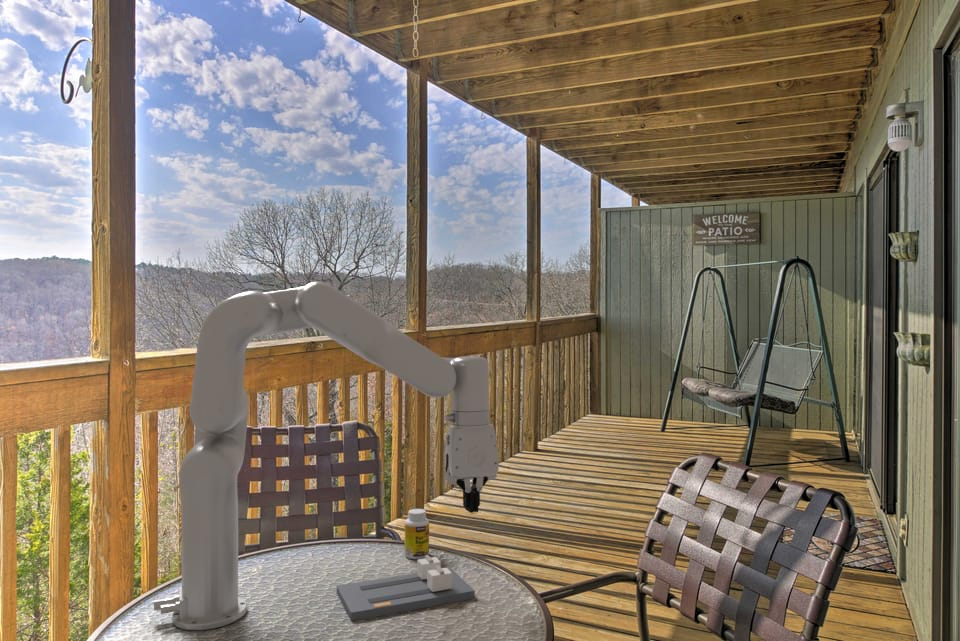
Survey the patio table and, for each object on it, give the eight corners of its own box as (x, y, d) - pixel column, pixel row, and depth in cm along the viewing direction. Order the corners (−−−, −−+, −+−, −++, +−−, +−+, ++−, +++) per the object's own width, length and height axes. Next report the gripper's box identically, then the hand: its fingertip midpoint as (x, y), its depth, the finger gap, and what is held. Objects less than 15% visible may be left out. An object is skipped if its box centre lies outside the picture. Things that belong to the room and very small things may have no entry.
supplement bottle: (414, 562, 146) (414, 516, 146) (399, 555, 150) (399, 510, 150) (434, 555, 150) (434, 511, 150) (418, 549, 154) (418, 506, 154)
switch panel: (351, 621, 117) (351, 612, 117) (336, 593, 129) (336, 585, 129) (474, 598, 127) (474, 590, 127) (450, 574, 139) (450, 567, 139)
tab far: (421, 579, 131) (421, 561, 131) (417, 574, 134) (417, 556, 134) (440, 576, 133) (440, 558, 133) (435, 571, 135) (435, 554, 135)
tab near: (432, 591, 125) (432, 573, 125) (427, 586, 128) (427, 567, 128) (451, 588, 127) (451, 569, 127) (446, 582, 130) (446, 564, 130)
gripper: (442, 424, 124) (443, 520, 124) (512, 418, 130) (513, 510, 130) (428, 418, 131) (429, 510, 131) (496, 413, 137) (497, 501, 137)
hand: (471, 510), depth 131 cm, fingers closed
